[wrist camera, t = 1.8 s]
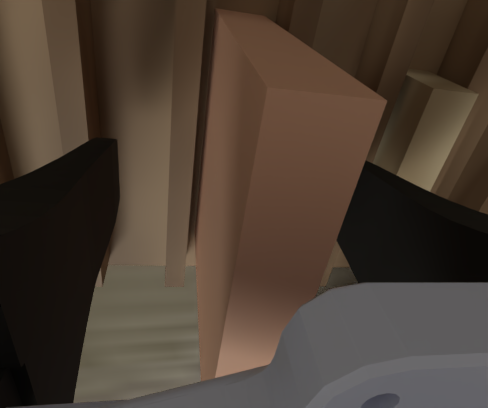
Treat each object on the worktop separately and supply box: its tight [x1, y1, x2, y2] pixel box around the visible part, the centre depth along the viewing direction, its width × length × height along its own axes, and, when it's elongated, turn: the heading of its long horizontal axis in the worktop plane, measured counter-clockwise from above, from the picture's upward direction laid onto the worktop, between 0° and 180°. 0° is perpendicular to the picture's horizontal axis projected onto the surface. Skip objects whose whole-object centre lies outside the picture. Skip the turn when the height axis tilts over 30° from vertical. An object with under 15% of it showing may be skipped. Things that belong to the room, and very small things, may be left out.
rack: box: [0, 0, 488, 287], centre depth 14 cm, size 26×13×3 cm, turn 82°
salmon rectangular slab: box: [195, 8, 387, 381], centre depth 10 cm, size 2×9×8 cm, turn 172°
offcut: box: [373, 69, 479, 192], centre depth 14 cm, size 2×7×3 cm, turn 172°
